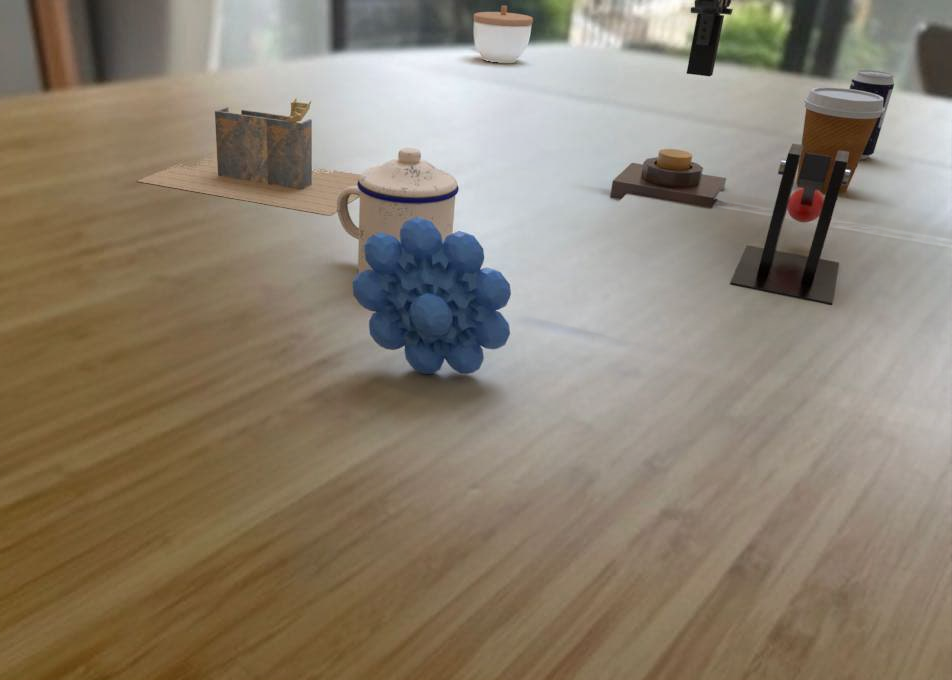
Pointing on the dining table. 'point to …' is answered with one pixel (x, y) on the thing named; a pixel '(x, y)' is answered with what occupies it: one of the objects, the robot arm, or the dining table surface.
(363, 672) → the dining table surface
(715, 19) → the robot arm
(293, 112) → the architectural model on board
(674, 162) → the button
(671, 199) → the brown lamp base
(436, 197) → the teacup with lid
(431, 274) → the blue flower ornament
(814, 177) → the power lever
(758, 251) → the stand
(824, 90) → the disposable coffee cup
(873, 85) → the beverage can
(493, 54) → the lidded bowl
